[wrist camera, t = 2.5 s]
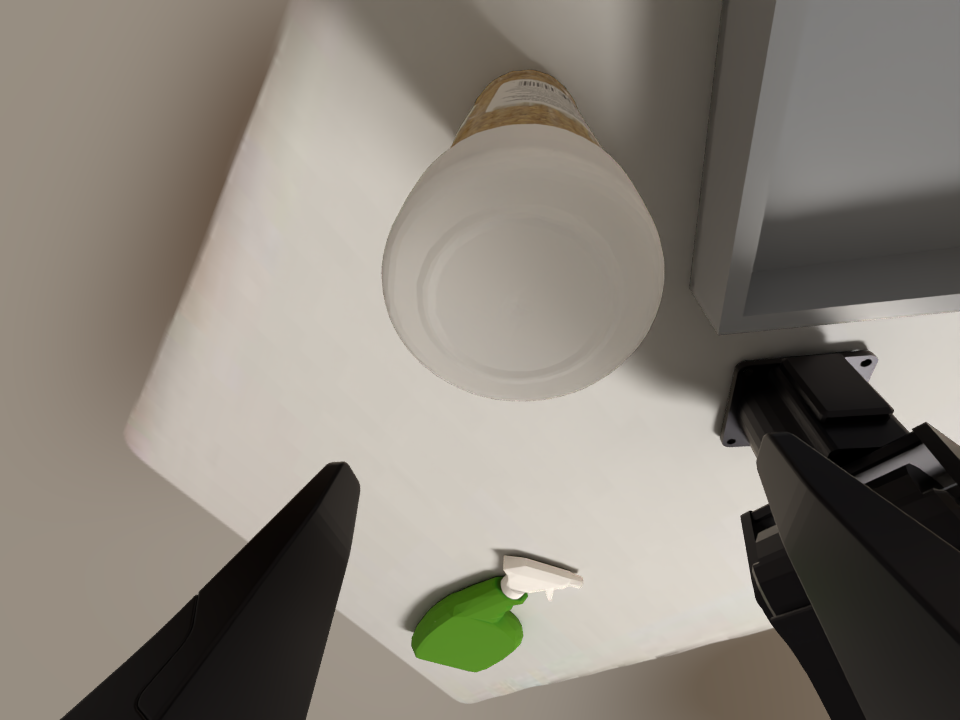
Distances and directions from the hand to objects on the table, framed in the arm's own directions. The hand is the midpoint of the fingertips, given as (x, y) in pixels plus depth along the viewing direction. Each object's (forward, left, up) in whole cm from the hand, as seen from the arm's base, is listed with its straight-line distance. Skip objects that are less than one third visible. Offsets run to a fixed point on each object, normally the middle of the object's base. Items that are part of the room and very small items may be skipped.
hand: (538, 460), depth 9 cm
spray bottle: (-40, +9, -14) cm, 43 cm away
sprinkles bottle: (+4, 0, -13) cm, 14 cm away
